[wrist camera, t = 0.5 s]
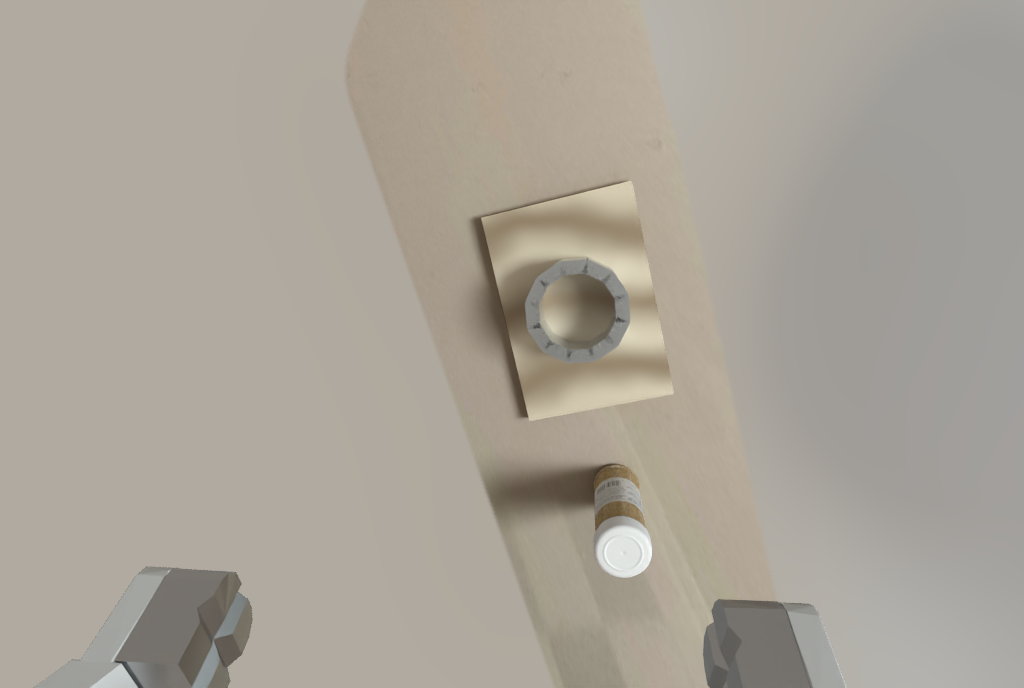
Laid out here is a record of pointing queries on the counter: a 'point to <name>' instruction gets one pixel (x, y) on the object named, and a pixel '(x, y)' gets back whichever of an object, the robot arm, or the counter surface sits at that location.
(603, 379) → the birch board
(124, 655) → the robot arm
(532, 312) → the steel ring
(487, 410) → the counter surface
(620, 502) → the sprinkles bottle
